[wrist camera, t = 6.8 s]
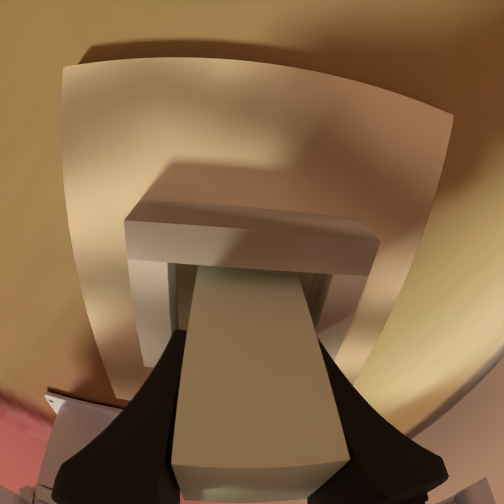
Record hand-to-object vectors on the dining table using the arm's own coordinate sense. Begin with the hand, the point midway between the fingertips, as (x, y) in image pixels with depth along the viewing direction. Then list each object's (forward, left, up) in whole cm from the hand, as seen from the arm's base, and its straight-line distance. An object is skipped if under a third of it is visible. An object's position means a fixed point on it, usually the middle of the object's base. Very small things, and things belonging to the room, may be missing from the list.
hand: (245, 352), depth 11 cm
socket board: (0, 0, -4) cm, 4 cm away
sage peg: (0, 0, -2) cm, 3 cm away
